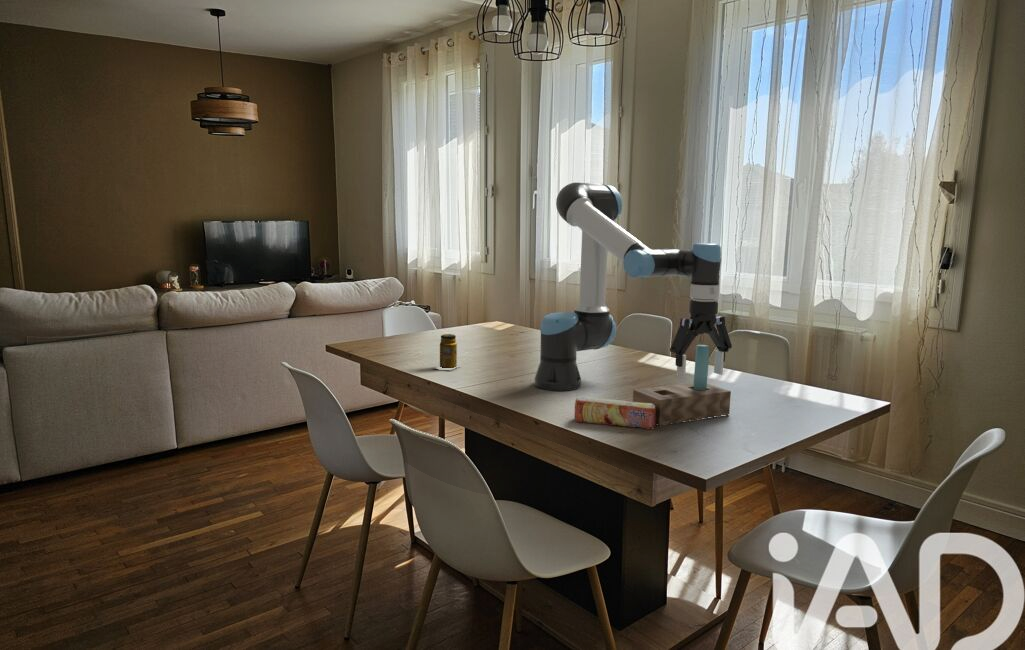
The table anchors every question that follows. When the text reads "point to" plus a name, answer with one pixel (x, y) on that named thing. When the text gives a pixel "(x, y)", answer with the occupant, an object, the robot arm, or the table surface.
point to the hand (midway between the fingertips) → (699, 375)
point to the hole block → (684, 402)
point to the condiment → (448, 351)
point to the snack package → (615, 412)
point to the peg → (701, 367)
